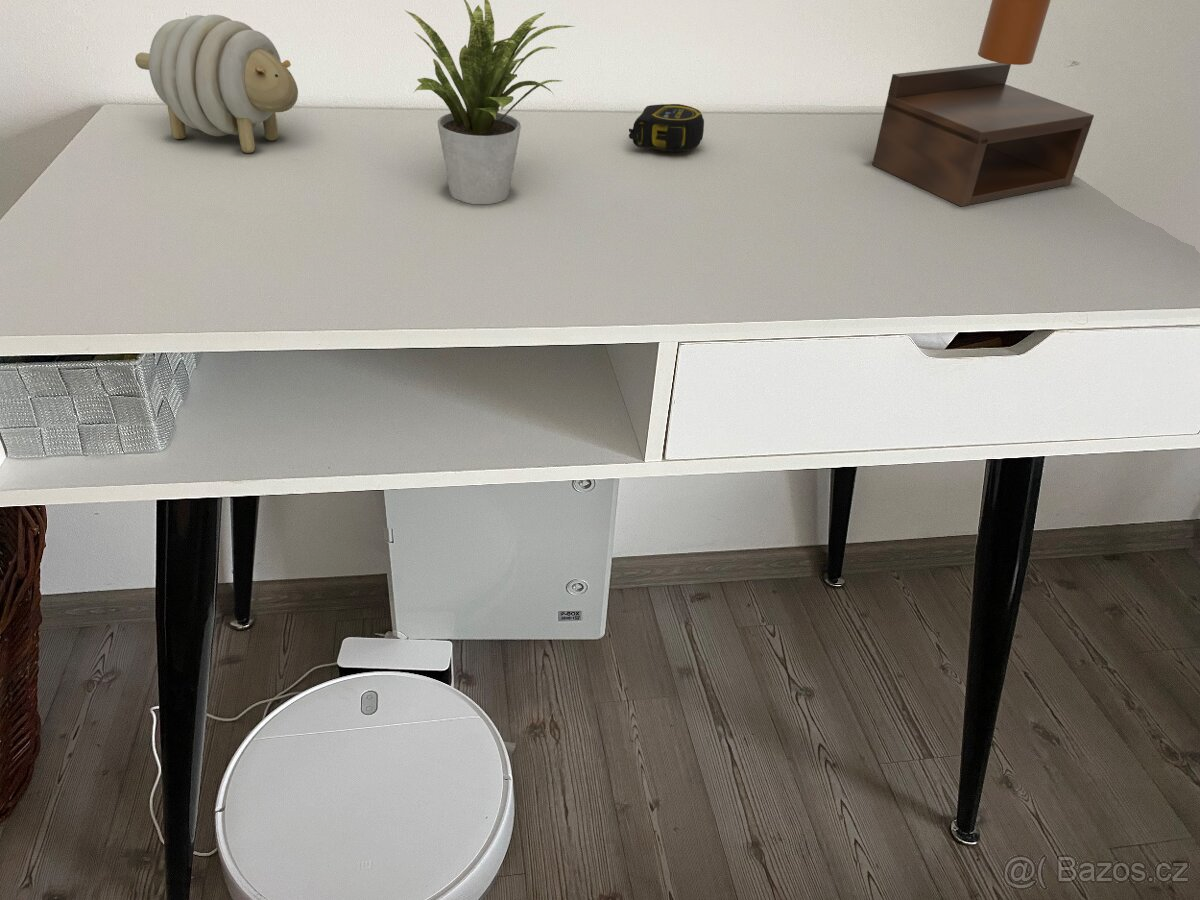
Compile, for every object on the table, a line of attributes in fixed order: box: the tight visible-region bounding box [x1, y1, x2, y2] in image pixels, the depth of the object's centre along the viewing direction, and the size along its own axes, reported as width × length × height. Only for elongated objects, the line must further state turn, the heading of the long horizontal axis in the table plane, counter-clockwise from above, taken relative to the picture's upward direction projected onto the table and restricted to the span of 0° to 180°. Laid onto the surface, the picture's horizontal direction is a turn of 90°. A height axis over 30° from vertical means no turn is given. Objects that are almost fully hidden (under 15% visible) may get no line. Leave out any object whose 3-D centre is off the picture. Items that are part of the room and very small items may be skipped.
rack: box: [871, 62, 1095, 207], centre depth 100 cm, size 12×16×9 cm
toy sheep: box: [134, 14, 299, 154], centre depth 94 cm, size 11×17×11 cm, turn 75°
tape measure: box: [628, 103, 705, 152], centre depth 102 cm, size 7×7×4 cm
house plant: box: [405, 0, 576, 205], centre depth 85 cm, size 14×14×16 cm
